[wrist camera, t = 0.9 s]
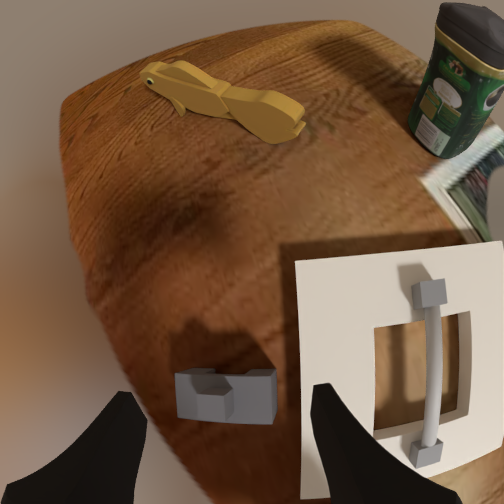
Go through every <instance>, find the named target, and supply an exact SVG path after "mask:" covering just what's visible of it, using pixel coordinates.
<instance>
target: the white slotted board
mask: <svg viewBox="0 0 504 504" xmlns="http://www.w3.org/2000/svg"><path fill="white" fill-rule="evenodd" d="M295 269H296V284H297V299H298V317H299V338H300V365H301V415H302V447H301V493H300V499H317V498H330V492H329V487H328V482H327V478H326V475H325V472H324V468H323V465H322V462H321V459H320V455H319V452H318V449H317V445H316V442H315V439H314V435H313V429H312V424H311V418H310V409H311V401H312V392H313V385H317V384H323V383H330V384H331V385H332V386H333V388H334V389H335V391H336V392H337V394H338V395H339V397H340V398H341V400H342V401H343V402H344V404H345V405H346V406H347V408H348V409H349V410H350V412H351V413H352V414H353V415H354V417H355V418H356V419H357V420H358V421H359V422H360V424H361V425H362V426H363V427H364V428H365V429H366V430H367V431H368V433H369V434H370V435H371V436H372V437H373V438H374V439H375V440H376V441H377V442H378V443H379V444H380V445H382V446H383V447H384V448H385V449H386V450H387V451H388V452H390V453H391V454H392V455H393V456H394V457H396V458H397V459H398V460H399V461H401V462H402V463H403V464H405V465H406V466H408V467H409V468H411V469H412V470H414V471H415V472H417V473H419V474H420V475H422V476H423V477H425V478H428V477H431V476H434V475H437V474H440V473H443V472H446V471H448V470H451V469H453V468H456V467H458V466H461V465H463V464H466V463H468V462H470V461H473V460H475V459H477V458H479V457H481V456H483V455H485V454H487V453H489V452H491V451H493V450H495V449H497V448H499V447H501V445H502V440H503V436H504V249H503V245H502V241H496V242H486V243H477V244H468V245H458V246H449V247H439V248H430V249H420V250H410V251H399V252H389V253H379V254H368V255H357V256H346V257H335V258H324V259H312V260H300V261H295ZM457 313H458V328H459V384H458V399H457V409H456V410H453V411H450V412H447V413H444V414H441V415H440V407H441V393H442V327H441V317H443V316H447V315H452V314H457ZM421 320H425V330H426V397H425V412H424V419H423V420H420V421H416V422H412V423H407V424H403V425H399V426H394V427H389V428H384V429H378V430H373V427H374V406H375V351H374V328H376V327H383V326H390V325H397V324H403V323H410V322H415V321H421Z"/></svg>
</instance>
